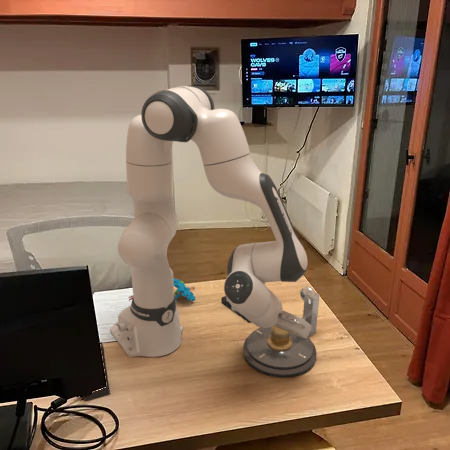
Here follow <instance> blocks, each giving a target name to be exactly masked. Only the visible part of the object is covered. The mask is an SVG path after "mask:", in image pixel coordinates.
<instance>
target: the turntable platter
mask: <svg viewBox="0 0 450 450" xmlns="http://www.w3.org/2000/svg"><path fill="white" fill-rule="evenodd" d="M270 335H271V327H268V328H260V327H258V328H256V329H254V330H253V331H252V332H251V333H250V334H249V335H248V336H249V337H248V336H247V337H248V340H247V351H248V353H249V355H250V356H251V358H252V359H253V360H255V361H256V362H257V363H259V364H261V365H263V366H265V367H268V368H272V369H278V370H289V369H295V368H298V367H301V366H303V365H305V364H306V363H307V362H309V360H310V359H311V357H312V354H313V344H314V343H313V344H312V342H313V341H312V340H311V338H310V336H308V337H307V338H302V337H299V336H297V335H294V334H292V333H290V335H289V336H290V337H291V339H292V347H291V349H289V350H287V351H283V352H279V351H274V350H272V349H271V348H269V347H268V345H267V338H268V337H269V336H270Z"/></svg>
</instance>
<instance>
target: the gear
mask: <svg viewBox="0 0 450 450" xmlns="http://www.w3.org/2000/svg"><path fill="white" fill-rule="evenodd" d="M173 282H174V288H176V290H174V295H175V297H176V300H177V299H178V298H179V297H181V296H182V297H184V298H186V299H187V300H188V301H191V302H194V301H195V300H196V296H195V294H194V292H192V291H191V289H190V288H189V287H188V286H187V285H186V283H185V282H184V281H183V280H180V279H177V278H175V277H173Z"/></svg>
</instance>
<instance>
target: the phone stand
mask: <svg viewBox="0 0 450 450" xmlns="http://www.w3.org/2000/svg"><path fill="white" fill-rule="evenodd" d="M99 343H100V344H101V351H102V356H103V363H104V369H105V376H106V382H107V386H106V388H103V389H101V390H98V391H95V392H93V393H92V394H91V395H89V396H87V397H84V396H83V399H84V401H85V402H86V401H87V402H88V401H91V400H94V399H98V398H101V397H105V396H109V395H111V391H110V384H109V377H108V370H107V364H106V356H105V349H104V344H103V342H102V341H101V342H99Z"/></svg>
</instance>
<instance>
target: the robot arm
mask: <svg viewBox="0 0 450 450" xmlns="http://www.w3.org/2000/svg"><path fill="white" fill-rule="evenodd" d="M140 113H141V114H138V115H136V116H135V117H133V118H132V119H131V120H130V122H129V124H128V128H127V133H126V134H127V136H126V144H125V164H126V166H125V168H126V191H127V194H128V195H129V196H130V197H131V201H132V203H133V206H134V217H133V219H132V221H131V222H130V223H129V224H128V226H127V227H125V228H124V229H123V231H122V234H121V236H120V238H119V241H118V244H117V252H118V255H119V257H120V259H121V260H122V261H123V262H124V264H126V265H127V267H128V269H129V272H130V276H131V284H132V295H130V296H128V298H129V299H128V301H129V302H130V301H131V304H130V305H129V306H127V307H126V308H124V309H122V310H121V311H120V313H119V314H118V316H117V321H116V322H115V323H114V324H113V325H112V326H111V327H110V333H111V334H112V336H113V338H114V339H115V340H116V342H117V343H118V344H119V346H120V347H121V348H122V350H123V351H124V352H125V353H126V354H127V355H126V356H128V357H130V358H133V357H142V356H143V357H149V358H151V357H152V358H154V357H156V358H157V357H162V356H166V355H169V354H171V353H173V352H175V351H176V350H177V349H178V348H179V347H180V345H181V344H182V333H183V331H184V328H183V325H181V323H180V316H179V315H180V314H179V310H178V307H177V299H176V297H175V296H176V294H175V293H174V292H175V287H174V282H173V279H174V272H173V270H172V268H171V267H170V265H169V260H168V256H167V255H168V248H169V244H170V243H171V242H172V239H174V237H175V236H176V233H177V230H178V224H179V218H178V214H177V212H176V208H175V202H174V197H173V196H174V195H173V179H172V178H173V144H174V142H177V143H178V142H179V143H188V142H190V140H191V142H193V143H194V144H195V145H196V147H197V148H198V151H199V153H200V156H201V161H202V165H203V169H204V172H205V176H206V178H207V181H208V184H209V186H211V187H210V188H212V190H214V191H215V192H217V193H218V194H220V195H222V196H224V197H226V198H229V199H234V200H239V201H244V202H248V203H250V204H253V205H255V206H256V207H258V208H260V209H261V211H262V212H263V213H264V214H265V217H266V219H267V222H268V224H269V226H270V229H271V231H272V233H273V236H274V238H275V240H272V241H271V240H270V241H263V242H252V243H244V244H239V245H237V246H236V247H235V248H234V249H233V251H232V252H231V253H230V256H229V257H228V260H227V266H226V272H227V273H226V276H227V277H226V279H225V280H224V284H223V285H224V286H223V292H224V296H226V298H227V300H228V301H229V303H230V304H231V305H232V307H231V309H232V310H233V311H235V312H237V313H239V314H241V315H243V316H244V317H246V318H247V319H248V320H249V321H251V323H252V324H254V325H255V326H256V327H258V328H268V327H271V326H275V327H278V328H280V329H282V330H285V331H287V332H290V333H292V334H294V335H297V336H299V337H302V338H307V337H310V336H309V333H310V331H311V325H310V324H309V323H307V322H306V321H305V320H304V319H302V317H300V316H298V315H295V314H293V313H292V312H289V311H285V310H284V308H283V304H282V301H281V300H280V298H279V297H278V296H277V295H276V294H275V293H274V292H273V291H271V289H269V288H268V287H267V286H266V283H274V282H276V283H277V282H283V283H296V282H297V281H298V280H300V279H301V278H302V277H303V276H304V274H305V273H306V272H307V270H308V266H309V264H308V263H309V261H308V256H307V252H306V250H305V247H304V245H303V243H302V242H301V240H300V238H299V236H298V235H297V232H296V230H295V228H294V225H293V223H292V221H291V218H290V216H289V213H288V211H287V208H286V207H285V204H284V202H283V200H282V197H281V195H280V193H279V190H278V188H277V186H276V183H275V182H274V181H273V178H271V176H270V175H269V174H267V173H263V172H262V171H261V170H260V169H259V168H258V167H257V165H256V163H255V162H254V160H253V158H252V155H251V154H252V153H251V151H250V147H249V143H248V141H247V137H246V134H245V131H244V129H243V126H242V125H241V122H240V121H239V120H240V119H239V118H238V116H237V114H236V113H235V112H234V111H232V110H230V109H227V108H215V102H214V100H213V97H212V95H210V93H209V92H208V91H206V90H205V89H204V88H202V87H200V86H196V85H177V86H173V87H171V88H168V89H164V90H158V91H157V92H155V93H153V94H152V95H150V96H148V98H146V100H145V102H144V103H143V106H142V109H141V112H140ZM231 309H230V310H231ZM232 310H231V311H232ZM233 311H232V312H233ZM235 312H234V313H235Z"/></svg>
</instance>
